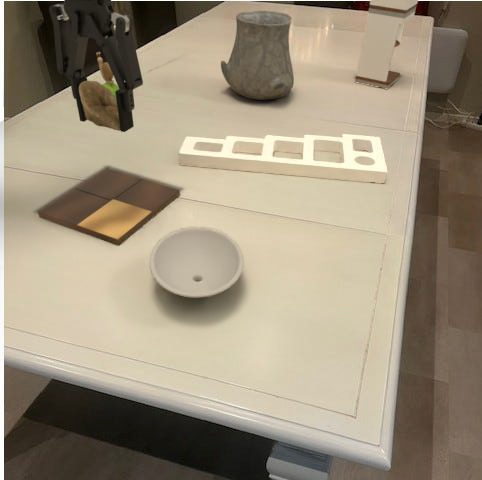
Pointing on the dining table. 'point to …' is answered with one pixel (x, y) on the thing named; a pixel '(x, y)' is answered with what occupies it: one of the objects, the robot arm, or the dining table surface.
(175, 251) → the dish
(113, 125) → the fossil
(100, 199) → the board
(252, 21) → the vessel
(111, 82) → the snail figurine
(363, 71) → the white square pillar
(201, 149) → the holder
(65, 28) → the robot arm
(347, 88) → the dining table surface
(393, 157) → the dining table surface
